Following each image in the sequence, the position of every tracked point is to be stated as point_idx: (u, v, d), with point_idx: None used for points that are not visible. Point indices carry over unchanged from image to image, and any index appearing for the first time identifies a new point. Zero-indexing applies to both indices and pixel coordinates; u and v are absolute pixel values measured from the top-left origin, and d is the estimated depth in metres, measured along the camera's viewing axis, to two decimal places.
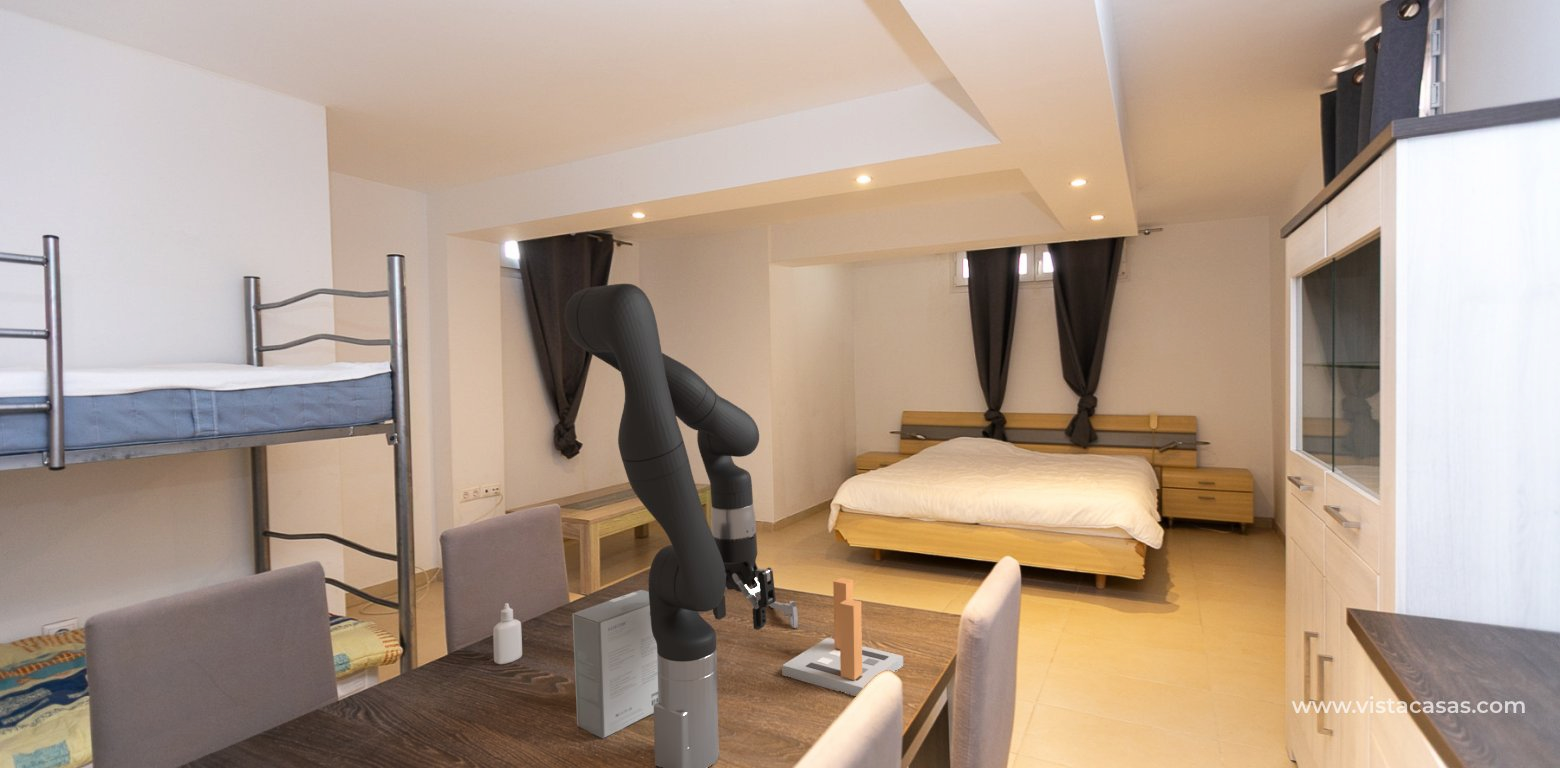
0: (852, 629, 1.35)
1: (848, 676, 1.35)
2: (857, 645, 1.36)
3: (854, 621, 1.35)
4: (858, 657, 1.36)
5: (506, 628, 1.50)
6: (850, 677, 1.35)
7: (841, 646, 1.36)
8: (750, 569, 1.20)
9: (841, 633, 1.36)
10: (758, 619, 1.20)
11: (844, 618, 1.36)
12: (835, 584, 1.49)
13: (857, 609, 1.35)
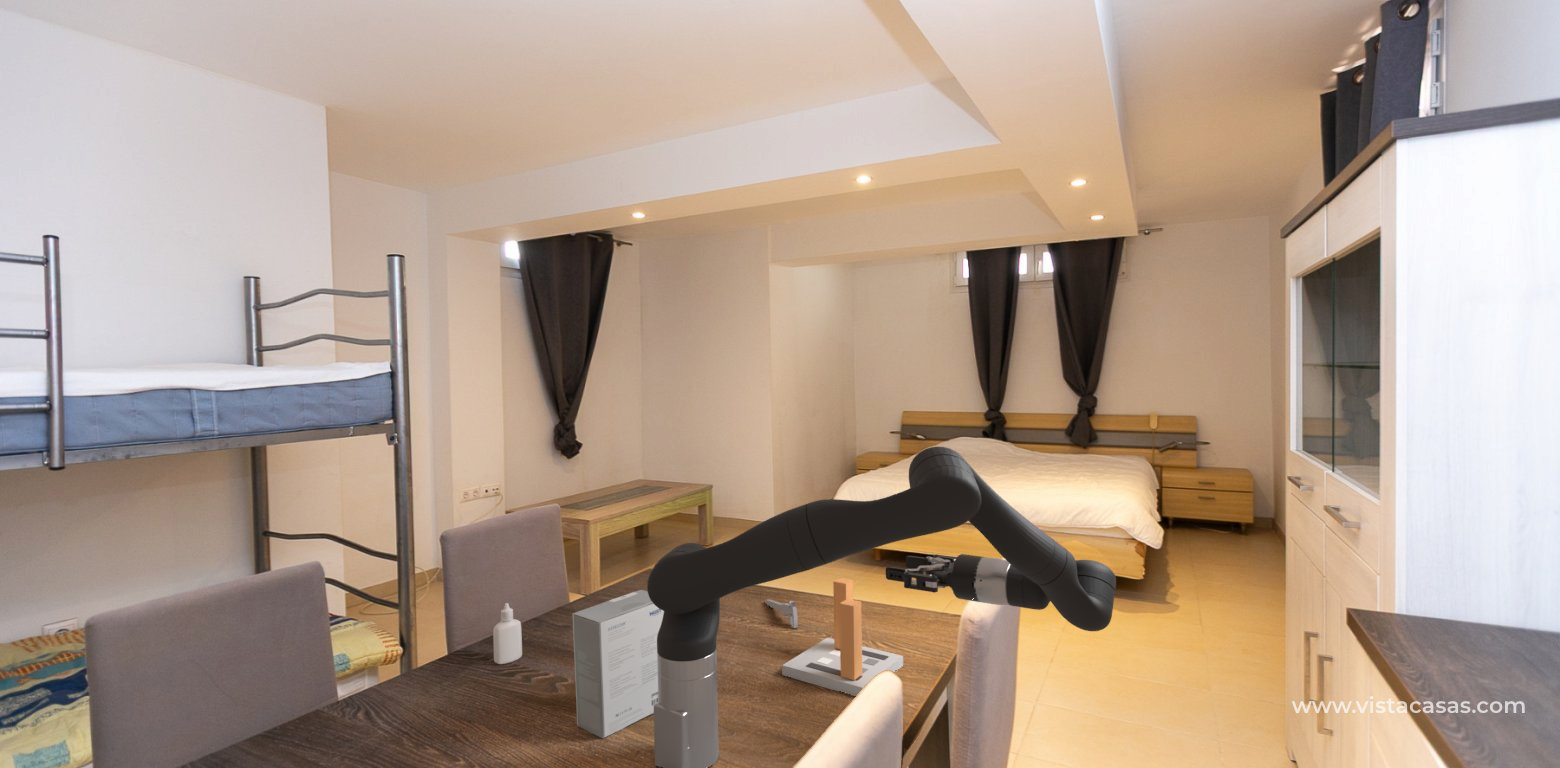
0: (852, 629, 1.35)
1: (848, 676, 1.35)
2: (857, 645, 1.36)
3: (854, 621, 1.35)
4: (858, 657, 1.36)
5: (506, 628, 1.50)
6: (850, 677, 1.35)
7: (841, 646, 1.36)
8: (942, 575, 1.22)
9: (841, 633, 1.36)
10: (894, 570, 1.26)
11: (844, 618, 1.36)
12: (835, 584, 1.49)
13: (857, 609, 1.35)
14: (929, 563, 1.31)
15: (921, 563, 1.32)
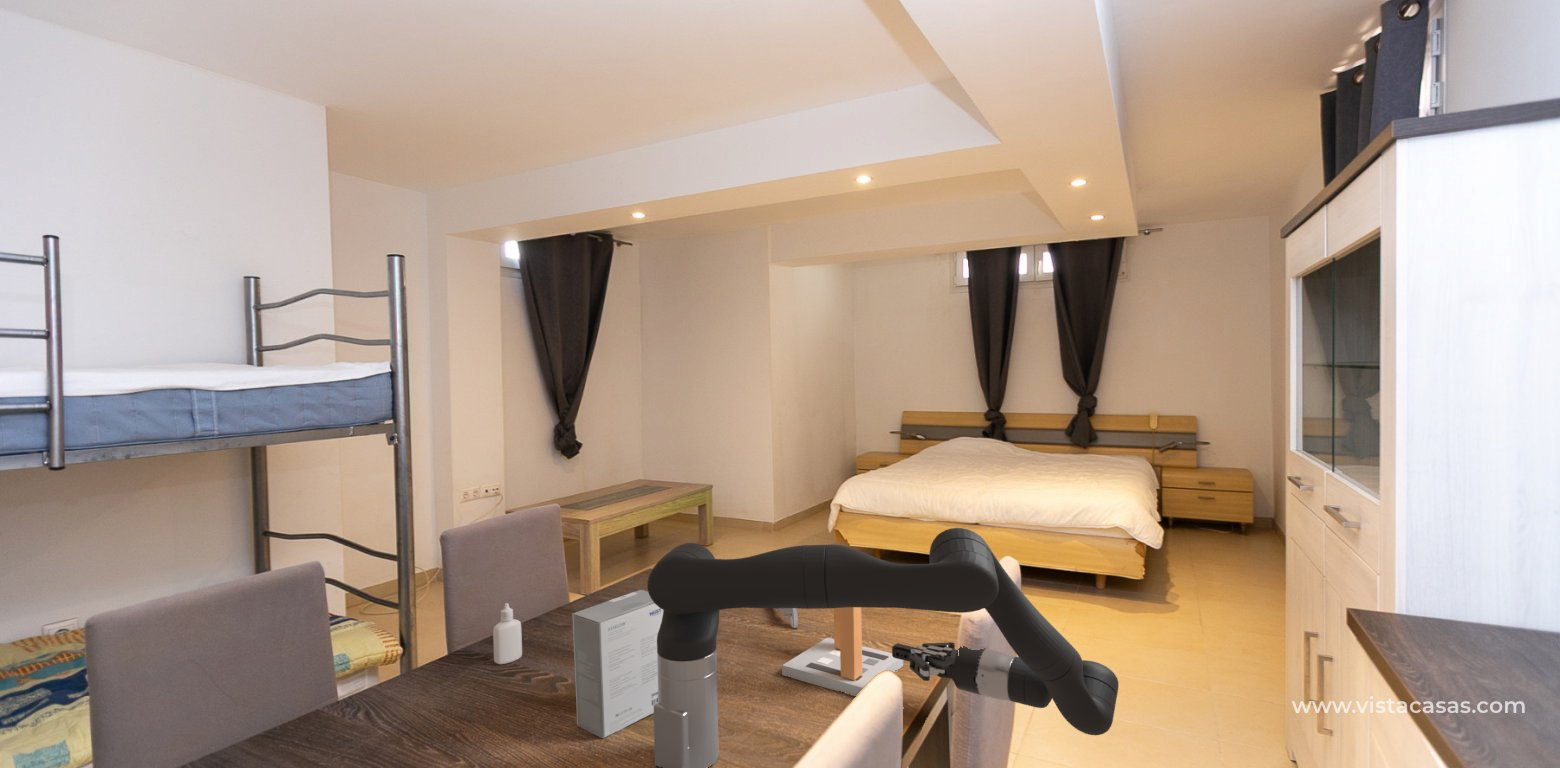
0: (852, 629, 1.35)
1: (848, 676, 1.35)
2: (857, 645, 1.36)
3: (854, 621, 1.35)
4: (858, 657, 1.36)
5: (506, 628, 1.50)
6: (850, 677, 1.35)
7: (841, 646, 1.36)
8: (940, 666, 1.22)
9: (841, 633, 1.36)
10: (900, 649, 1.30)
11: (844, 618, 1.36)
12: None
13: (857, 609, 1.35)
14: None
15: None
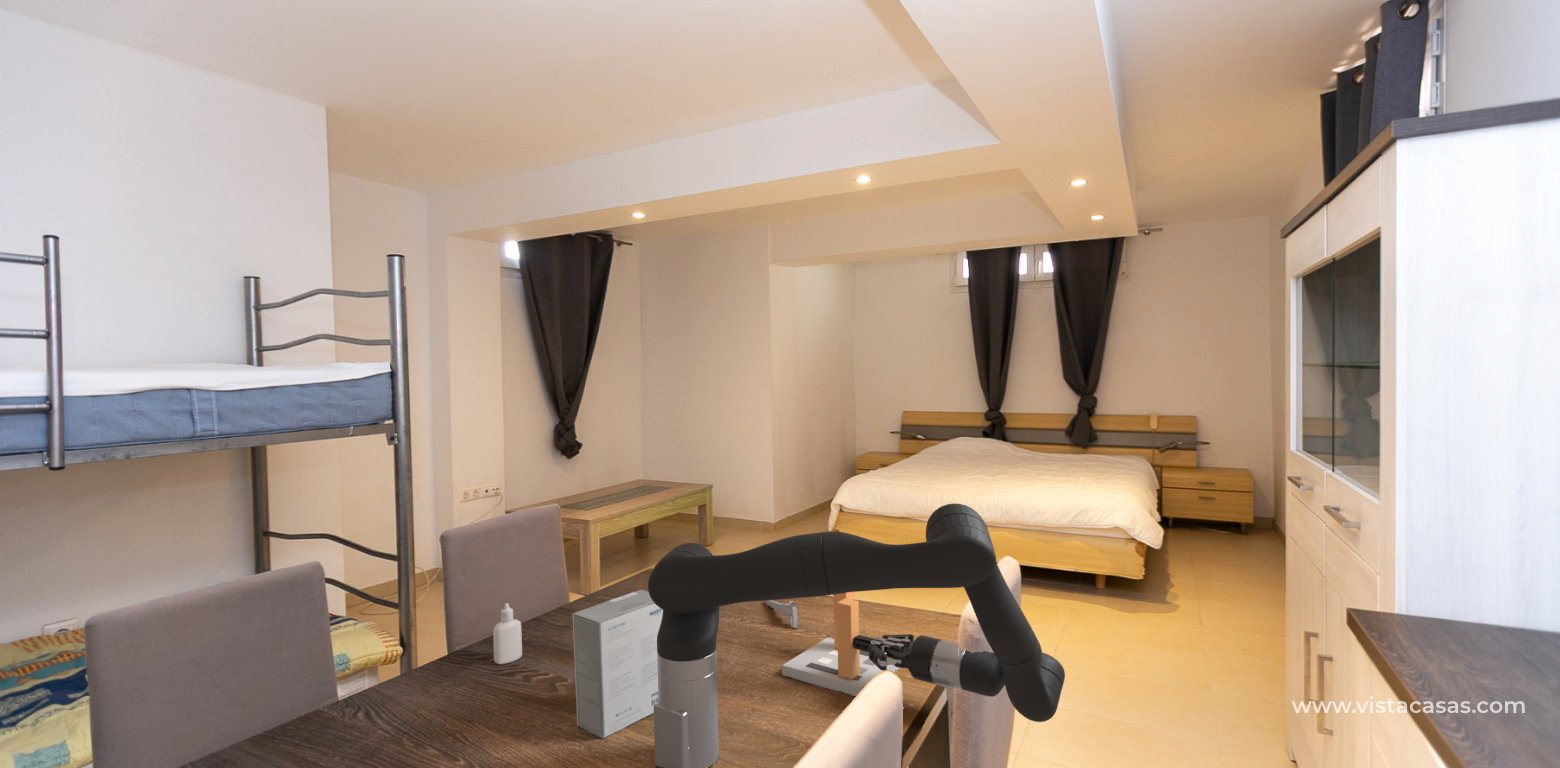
0: (849, 628, 1.35)
1: (845, 675, 1.36)
2: None
3: (851, 620, 1.35)
4: (855, 656, 1.36)
5: (506, 628, 1.50)
6: (847, 676, 1.36)
7: (838, 645, 1.36)
8: (897, 657, 1.26)
9: (838, 632, 1.36)
10: (861, 641, 1.34)
11: (841, 617, 1.36)
12: None
13: (854, 609, 1.36)
14: None
15: None
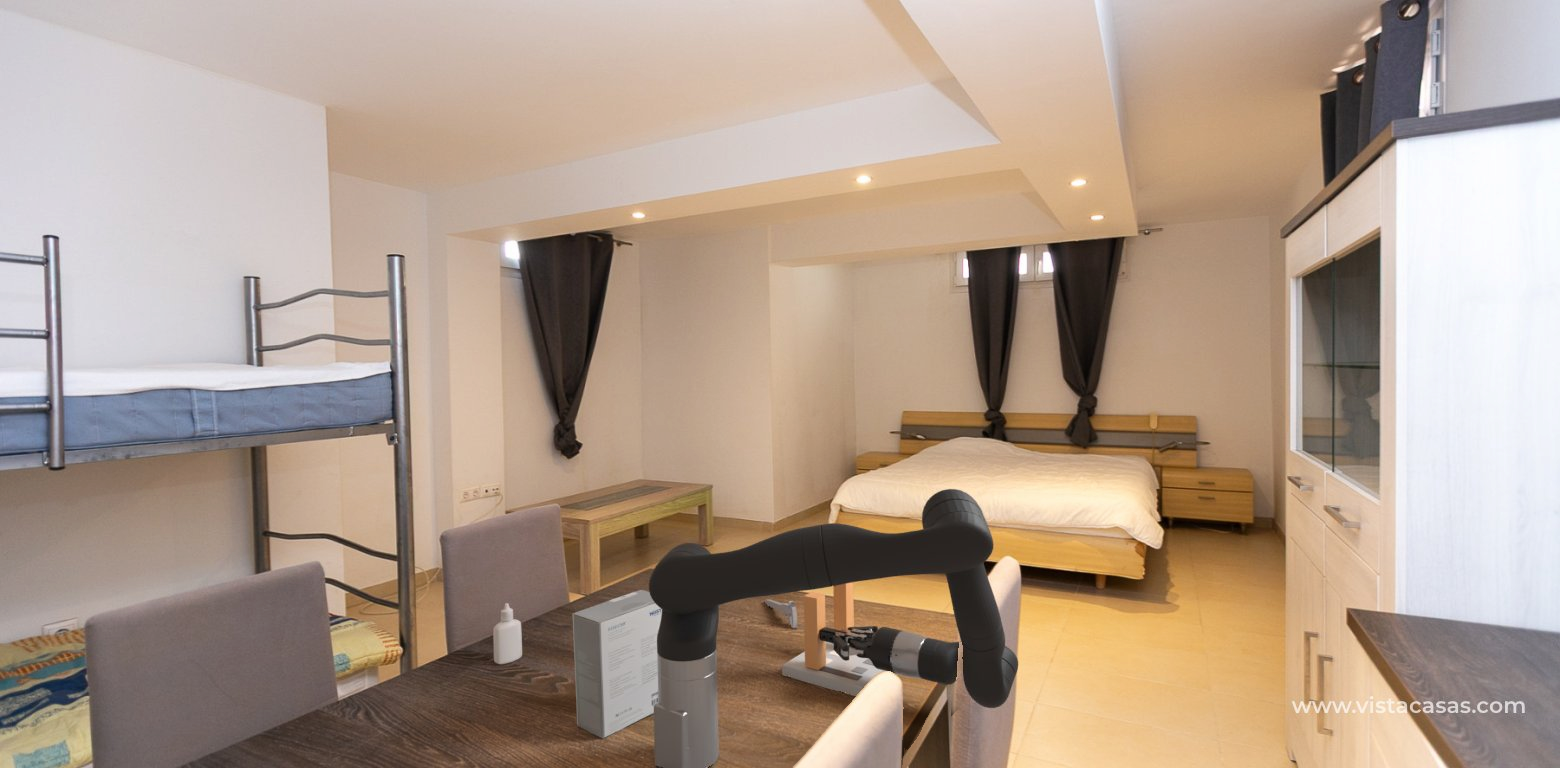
0: (815, 620, 1.39)
1: (812, 666, 1.40)
2: None
3: (817, 613, 1.39)
4: (821, 648, 1.40)
5: (506, 628, 1.50)
6: (814, 667, 1.40)
7: (805, 637, 1.41)
8: (859, 647, 1.31)
9: (805, 625, 1.41)
10: (827, 633, 1.39)
11: (808, 610, 1.40)
12: None
13: (820, 601, 1.40)
14: None
15: (835, 635, 1.39)
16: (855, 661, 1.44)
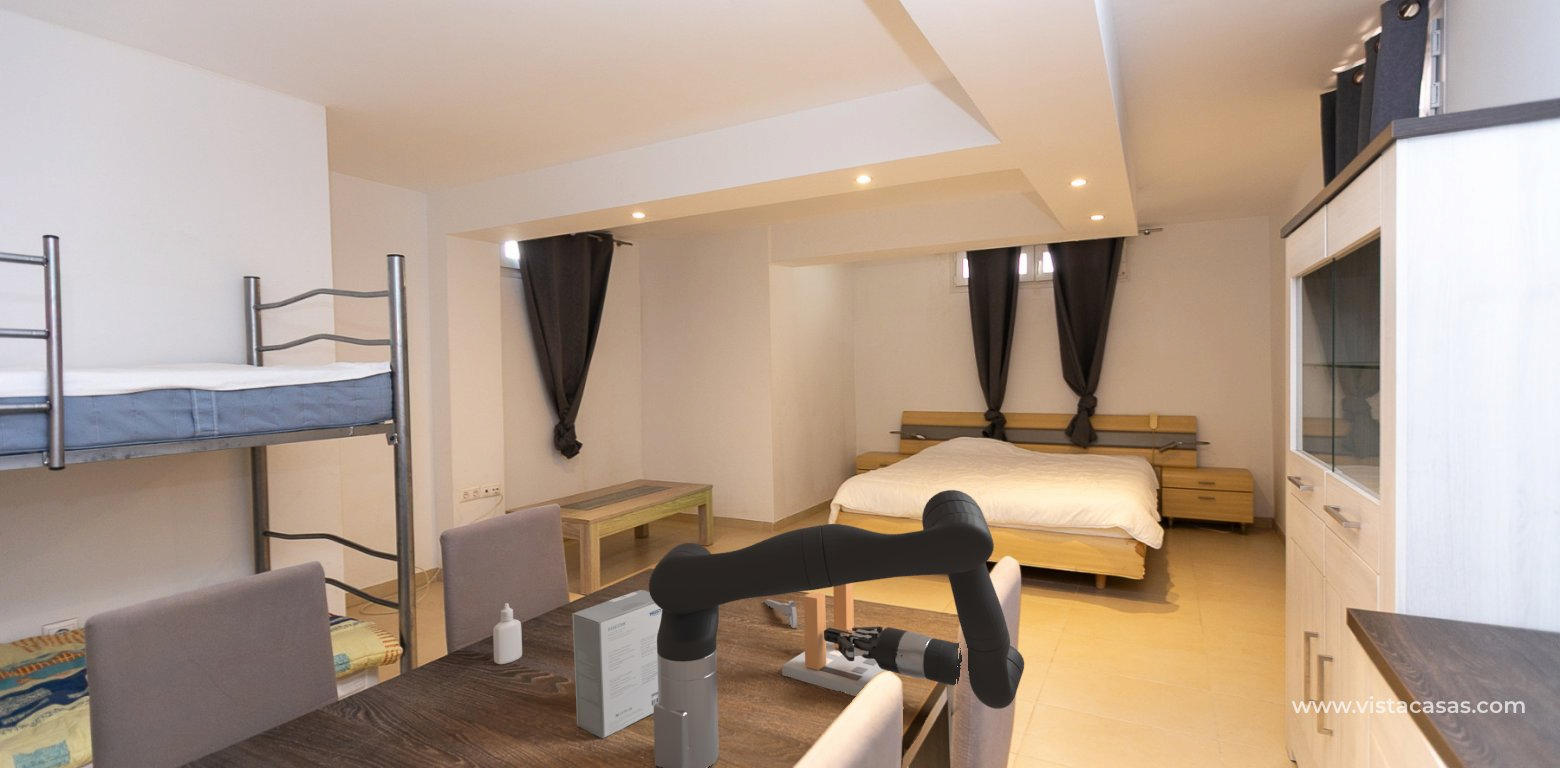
0: (816, 620, 1.39)
1: (812, 666, 1.40)
2: (821, 636, 1.40)
3: (817, 613, 1.39)
4: (821, 648, 1.40)
5: (506, 628, 1.50)
6: (814, 667, 1.40)
7: (805, 637, 1.41)
8: (864, 648, 1.30)
9: (805, 625, 1.41)
10: (831, 633, 1.38)
11: (808, 610, 1.40)
12: None
13: (820, 601, 1.40)
14: None
15: None
16: (855, 661, 1.44)
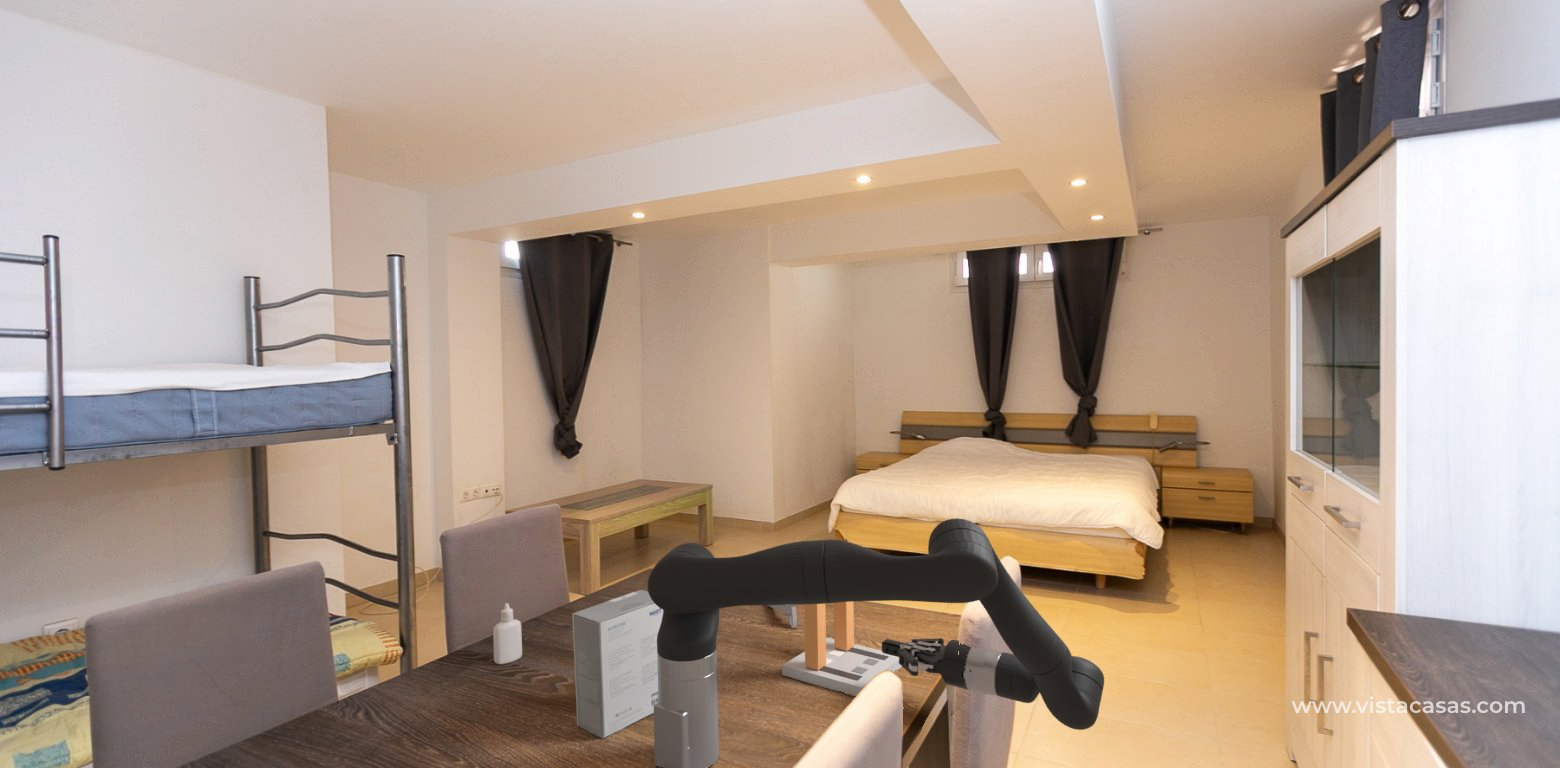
0: (816, 620, 1.39)
1: (812, 666, 1.40)
2: (821, 636, 1.40)
3: (817, 613, 1.39)
4: (821, 648, 1.40)
5: (506, 628, 1.50)
6: (814, 667, 1.40)
7: (805, 637, 1.41)
8: (929, 662, 1.23)
9: (805, 625, 1.41)
10: (890, 645, 1.31)
11: (808, 610, 1.40)
12: None
13: None
14: None
15: None
16: (855, 661, 1.44)
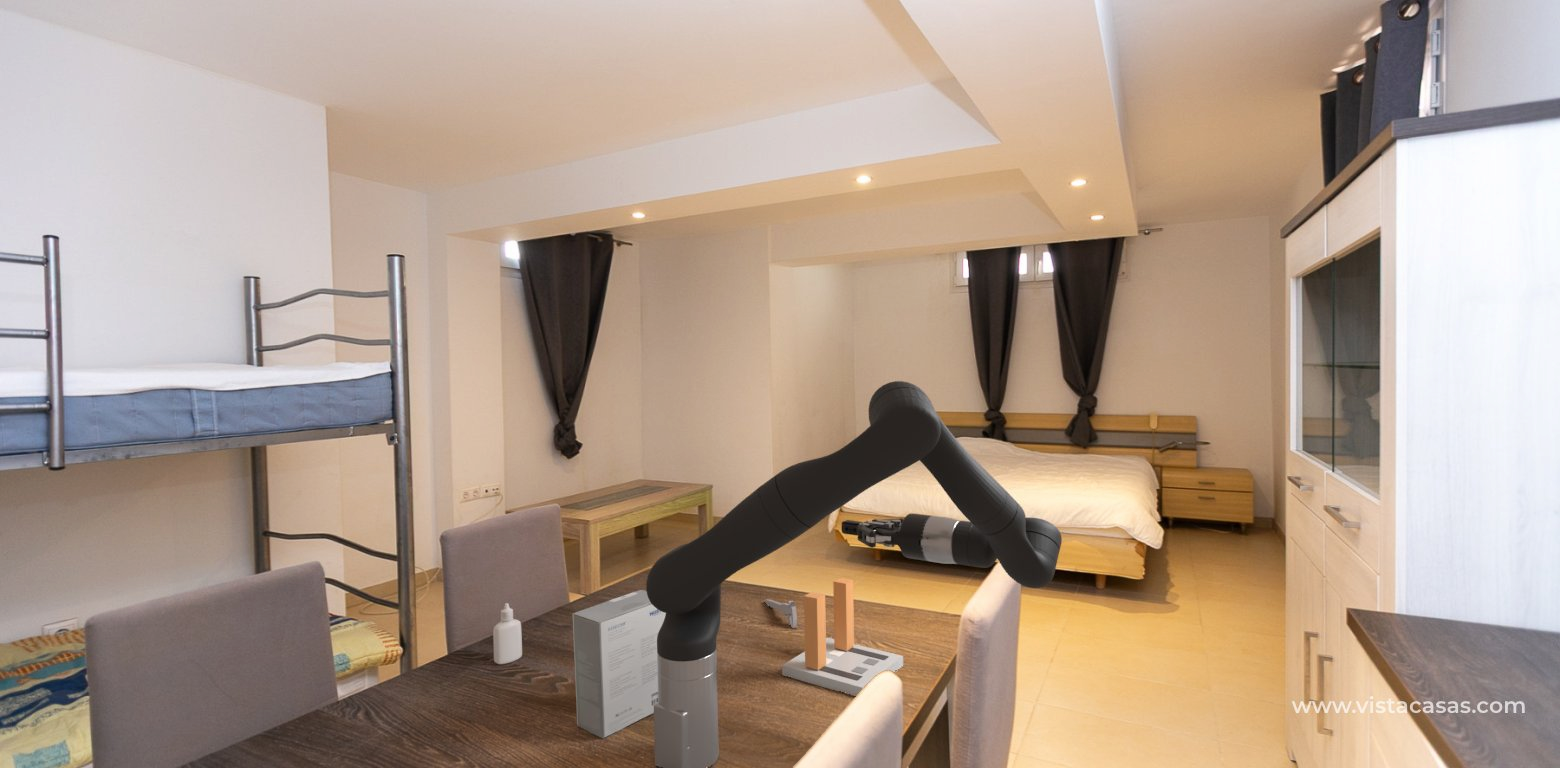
0: (816, 620, 1.39)
1: (812, 666, 1.40)
2: (821, 636, 1.40)
3: (817, 613, 1.39)
4: (821, 648, 1.40)
5: (506, 628, 1.50)
6: (814, 667, 1.40)
7: (805, 637, 1.41)
8: (886, 533, 1.21)
9: (805, 625, 1.41)
10: (850, 524, 1.28)
11: (808, 610, 1.40)
12: (835, 584, 1.49)
13: (820, 601, 1.40)
14: None
15: None
16: (855, 661, 1.44)
